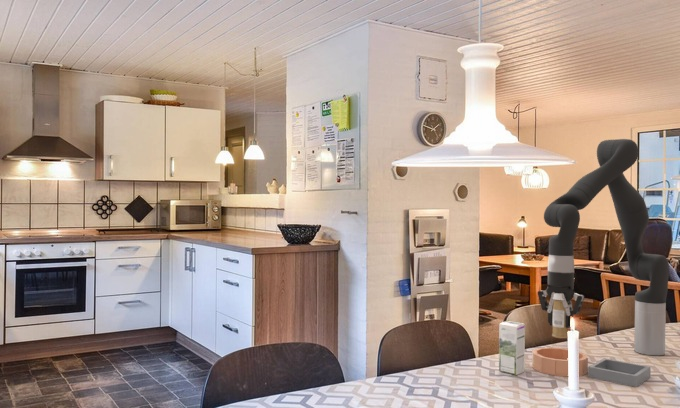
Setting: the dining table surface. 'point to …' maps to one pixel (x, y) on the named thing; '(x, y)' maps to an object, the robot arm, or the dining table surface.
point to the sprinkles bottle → (559, 317)
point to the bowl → (556, 361)
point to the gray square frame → (619, 372)
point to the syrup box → (512, 347)
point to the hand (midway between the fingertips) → (560, 326)
